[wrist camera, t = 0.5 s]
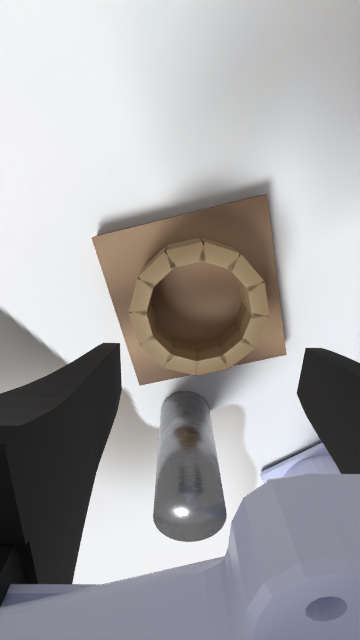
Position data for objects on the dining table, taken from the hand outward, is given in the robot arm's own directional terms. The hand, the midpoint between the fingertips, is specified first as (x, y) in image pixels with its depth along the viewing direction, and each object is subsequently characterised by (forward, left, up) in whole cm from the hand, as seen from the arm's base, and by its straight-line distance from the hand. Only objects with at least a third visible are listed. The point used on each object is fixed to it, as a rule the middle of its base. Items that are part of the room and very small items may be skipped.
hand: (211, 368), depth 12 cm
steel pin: (-8, +6, -10) cm, 14 cm away
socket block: (0, 0, -10) cm, 10 cm away
